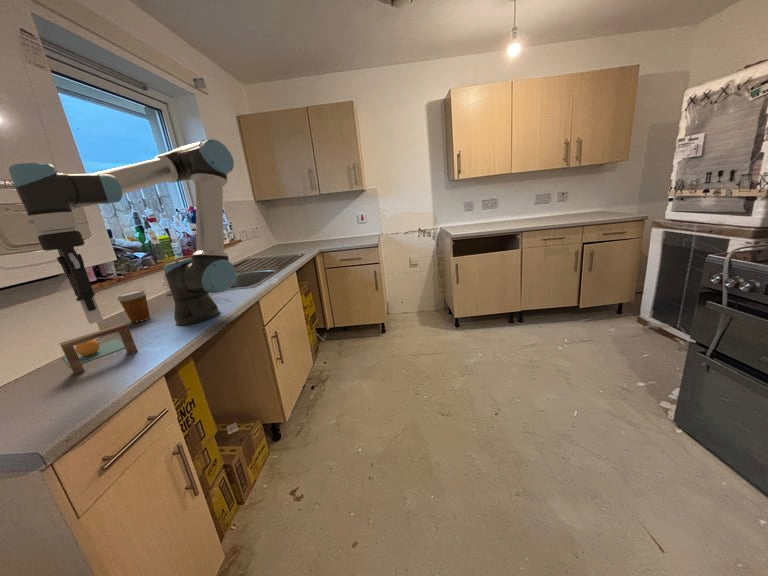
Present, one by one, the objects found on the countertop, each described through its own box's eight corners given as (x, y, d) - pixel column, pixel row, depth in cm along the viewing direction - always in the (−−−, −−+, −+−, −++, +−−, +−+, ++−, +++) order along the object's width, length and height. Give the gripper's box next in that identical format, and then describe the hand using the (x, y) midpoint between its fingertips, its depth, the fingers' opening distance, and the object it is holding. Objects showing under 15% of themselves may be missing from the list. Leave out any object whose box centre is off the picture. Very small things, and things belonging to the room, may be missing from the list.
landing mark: (116, 339, 110) (116, 338, 110) (128, 346, 101) (128, 346, 101) (62, 357, 99) (62, 357, 99) (70, 367, 91) (70, 367, 91)
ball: (98, 336, 98) (105, 352, 99) (91, 334, 101) (98, 349, 102) (75, 345, 93) (83, 360, 95) (69, 341, 96) (76, 357, 98)
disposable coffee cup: (139, 324, 124) (128, 295, 120) (120, 325, 126) (109, 297, 122) (160, 315, 132) (150, 288, 129) (142, 316, 135) (132, 289, 131)
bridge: (73, 372, 87) (59, 343, 85) (134, 349, 98) (124, 322, 96) (75, 375, 86) (61, 345, 83) (137, 351, 96) (127, 324, 94)
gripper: (33, 235, 76) (72, 323, 83) (39, 233, 68) (82, 331, 75) (74, 230, 82) (107, 313, 89) (84, 228, 74) (120, 319, 81)
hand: (96, 321), depth 82 cm, fingers closed
